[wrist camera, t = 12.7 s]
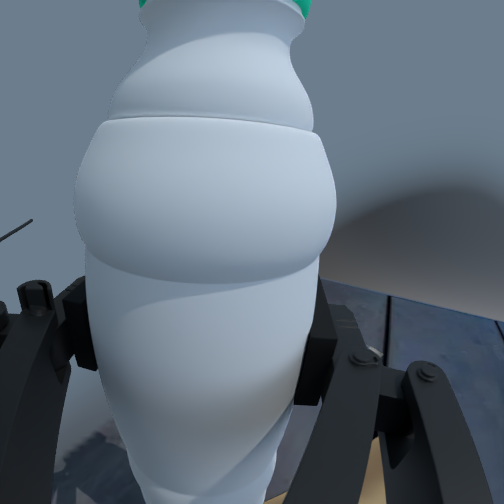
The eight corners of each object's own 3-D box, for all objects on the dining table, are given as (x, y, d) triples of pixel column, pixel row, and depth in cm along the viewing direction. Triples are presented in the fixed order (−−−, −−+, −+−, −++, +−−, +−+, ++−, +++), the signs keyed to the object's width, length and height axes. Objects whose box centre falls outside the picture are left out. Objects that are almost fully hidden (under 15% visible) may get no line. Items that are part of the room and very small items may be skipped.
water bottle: (131, 469, 15) (97, -15, 7) (226, 441, 19) (264, 13, 10) (175, 558, 10) (153, -145, 1) (284, 515, 14) (406, -31, 5)
